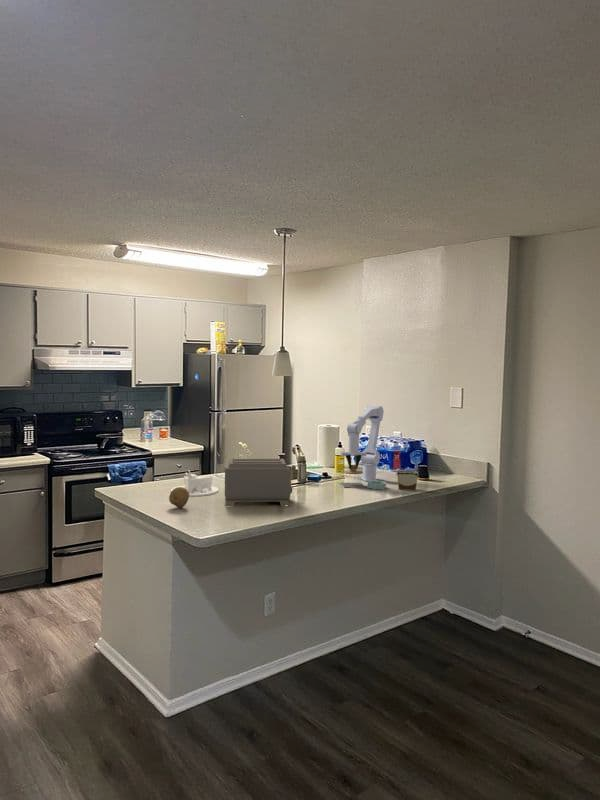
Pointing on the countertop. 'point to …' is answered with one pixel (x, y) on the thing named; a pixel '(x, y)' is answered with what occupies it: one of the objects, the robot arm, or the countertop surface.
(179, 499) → the natural sponge
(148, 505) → the countertop surface
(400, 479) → the food container
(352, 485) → the mat
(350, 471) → the lid
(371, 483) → the bowl
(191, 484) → the dish
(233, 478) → the toaster
